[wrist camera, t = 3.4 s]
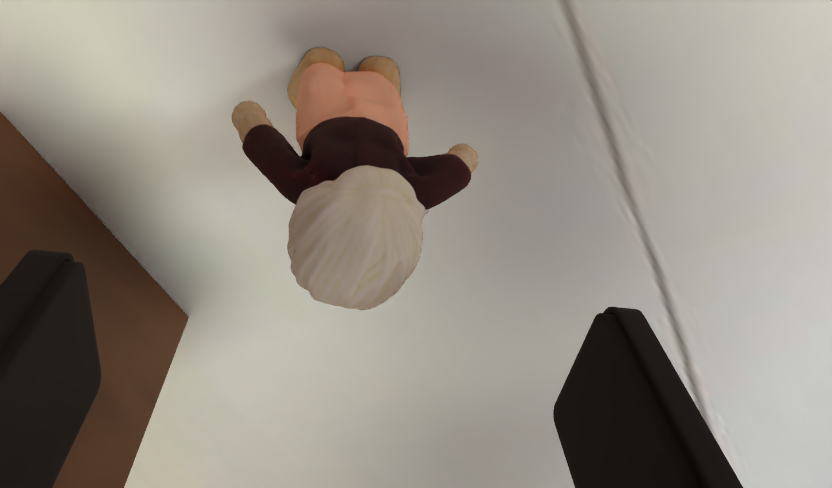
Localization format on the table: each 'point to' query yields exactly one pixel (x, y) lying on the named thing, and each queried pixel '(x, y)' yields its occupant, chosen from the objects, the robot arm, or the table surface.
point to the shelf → (93, 310)
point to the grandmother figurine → (351, 178)
